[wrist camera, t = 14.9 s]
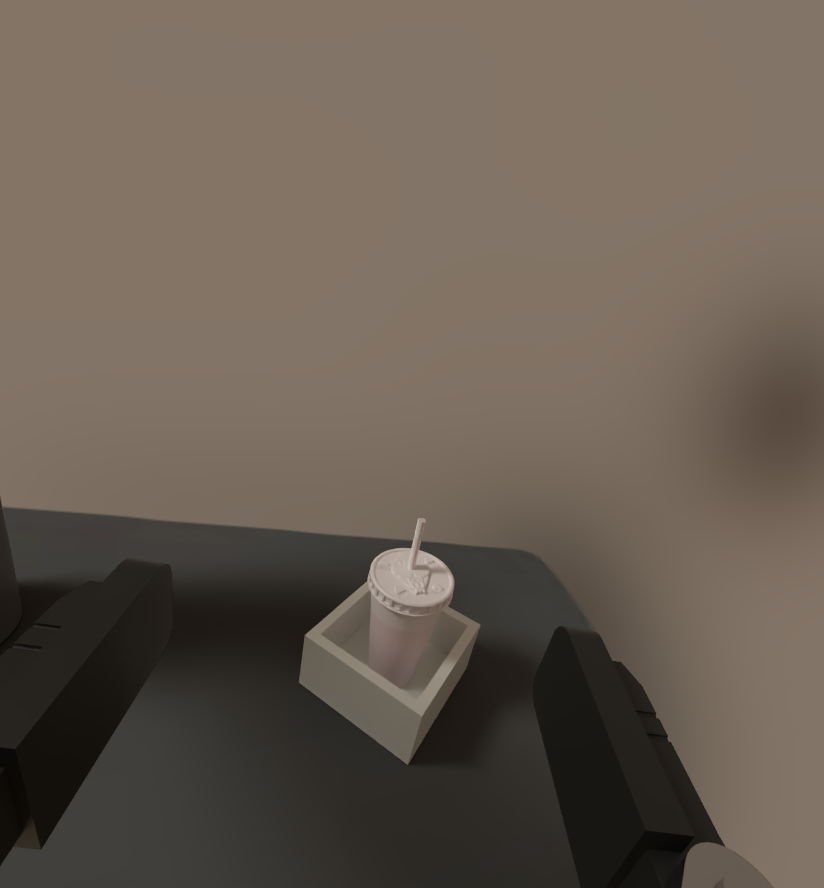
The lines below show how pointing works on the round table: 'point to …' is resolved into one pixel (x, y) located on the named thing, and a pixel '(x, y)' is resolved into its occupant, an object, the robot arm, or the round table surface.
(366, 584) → the box
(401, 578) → the smoothie
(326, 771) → the round table surface
